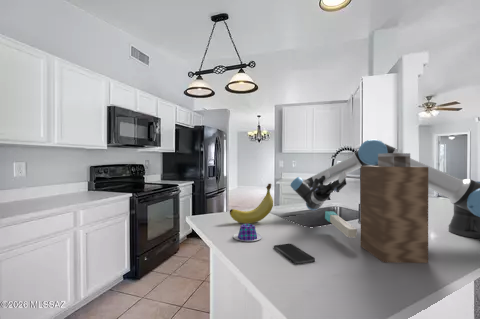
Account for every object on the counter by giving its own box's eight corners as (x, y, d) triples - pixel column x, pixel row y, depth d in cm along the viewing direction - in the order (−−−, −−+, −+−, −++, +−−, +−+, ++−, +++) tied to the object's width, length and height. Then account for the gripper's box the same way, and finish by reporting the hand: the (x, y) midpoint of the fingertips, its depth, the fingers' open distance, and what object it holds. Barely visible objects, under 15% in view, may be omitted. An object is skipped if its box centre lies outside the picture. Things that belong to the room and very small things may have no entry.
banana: (230, 225, 114) (230, 184, 114) (228, 222, 120) (229, 183, 120) (274, 223, 118) (274, 184, 118) (270, 220, 124) (271, 182, 124)
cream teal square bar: (332, 218, 105) (332, 211, 105) (356, 238, 83) (357, 228, 83) (325, 218, 105) (325, 211, 105) (347, 237, 83) (347, 228, 83)
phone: (295, 262, 71) (272, 245, 85) (295, 266, 71) (272, 248, 85) (316, 259, 73) (291, 243, 88) (316, 262, 73) (291, 246, 88)
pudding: (259, 233, 103) (259, 221, 103) (264, 242, 91) (264, 229, 91) (232, 233, 102) (232, 221, 102) (234, 243, 90) (234, 230, 90)
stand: (398, 246, 87) (398, 154, 87) (428, 262, 73) (428, 153, 73) (360, 246, 87) (360, 154, 87) (383, 262, 73) (383, 152, 73)
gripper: (341, 201, 115) (362, 182, 95) (302, 201, 115) (315, 181, 95) (338, 187, 119) (357, 165, 99) (300, 187, 119) (312, 165, 99)
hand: (336, 173), depth 97 cm, fingers open, 6 cm apart
